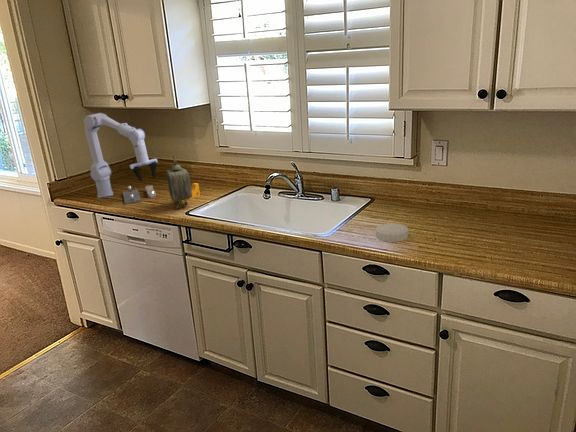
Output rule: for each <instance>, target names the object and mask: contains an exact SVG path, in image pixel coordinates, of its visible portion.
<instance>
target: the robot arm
mask: <svg viewBox="0 0 576 432" xmlns="http://www.w3.org/2000/svg"><path fill="white" fill-rule="evenodd" d="M82 120H83V123H84V133H85V138H86V142H87V145H88V149H89V153H90V156H91V160H92V164H91V166H90V167H89V168H90V177H91V179H92V180H93V181H94V183H95V186H96V190H97V199H101V198H106V197H113V196H114V191H113V190H112V185H111V180H110V178H111V175H112V170H111V167H110V166H109V164H108V162H107V161H105V160H104V157H103V152H102V148H101V144H100V140H99V137H98V131H99V129H100V128H101V127H102V126H104V125H105V126H107V127H110V128H112V129H114V130H116V131H117V132H118V134H120V135H122V136H124V137H126V138H128V139H129V141H130V142H131V144H132V146H133V150H134V153H135V157H136V162H134V163H132V164H129V169H131V171H132V172H133V173H134V174H135V175H136V177H137V179H138V181H139V182H143V179H142V176H141V175H142V174H141V168H140V167H144V166H147V165H148V166H149V168H150V169H149V170H150V172H151V176H152V177H153V178H156V173H157V172H156V171H157V167H158V163H159V162H158V159H157V158H152V159H149V156H148V151H147V146H146V143H145V139H146V133H145V131H144V130H143V129H142V128H136V127H135V126H131V125H128V123H127V122H124V123H122V122H121V123H120V122H118V121H116V120H114V119H113V118H111V117H109V116H108V115H107V114H106V113H103V112H98V113H92V114H86V116H85V117H84V118H83V119H82Z"/></svg>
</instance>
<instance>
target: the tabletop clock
mask: <svg viewBox="0 0 576 432" xmlns="http://www.w3.org/2000/svg"><path fill="white" fill-rule="evenodd" d="M176 157H177V156H176V155H175V154H173V156H172V159H173V165H172V166H171V167H170V169H167V170H166V171H165V172H166V179H167V180H166V181H167V186H168V193H169V195H170V199H171V201H172V203H173V204H176V203H177V206H176V207H175V208H176V210H180V208H181V207H180V204H181V201H182V200H184V205H185V206H186V205H188V204H189V202H188V201H189V200H191V199H190V198H191V197H192V190H191V189H192V185H191V179H190V178H191V177H190V173H189V172H188V170H187V169H185V168H183V167H182V166H181V165H180V164H177V163H178V162H177V158H176ZM188 199H189V200H188Z"/></svg>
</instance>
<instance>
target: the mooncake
mask: <svg viewBox="0 0 576 432" xmlns="http://www.w3.org/2000/svg"><path fill="white" fill-rule="evenodd" d="M375 237H376V238H377V239H378V240H380V241H383V242H388V243H390V242H393V243H395V242H401V241H405V240H407V238H409V228H408V227H407V226H406V225H404V224H400V223H396V222H388V223H382V224H380V225H378V226H376V227H375Z"/></svg>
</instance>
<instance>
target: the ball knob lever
mask: <svg viewBox="0 0 576 432" xmlns="http://www.w3.org/2000/svg"><path fill="white" fill-rule="evenodd" d="M145 193H147V198H148V199H153V198H156V197H157V195H156V190H154V186H153V184H151V185H149V184H148V185H146V186H145Z"/></svg>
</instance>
